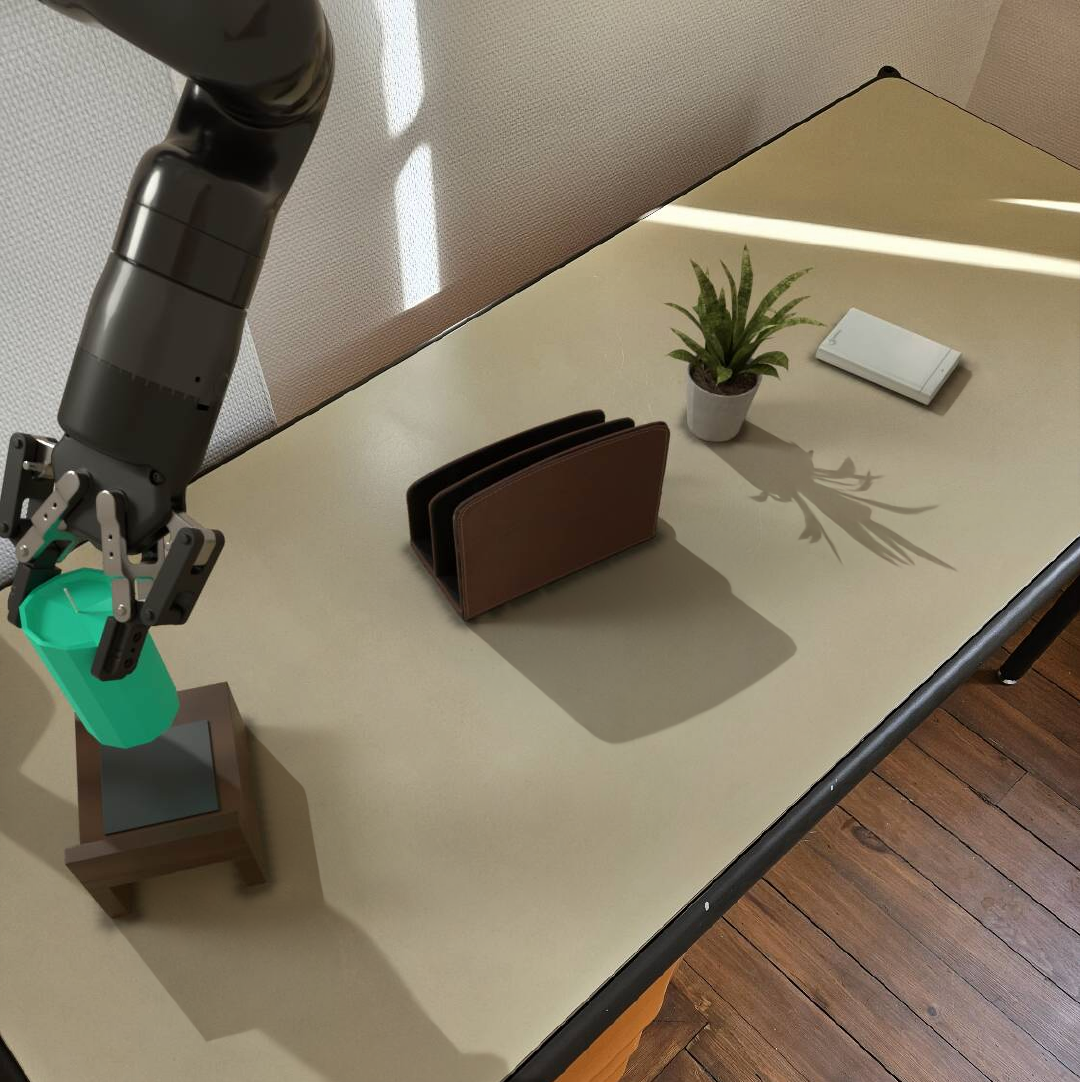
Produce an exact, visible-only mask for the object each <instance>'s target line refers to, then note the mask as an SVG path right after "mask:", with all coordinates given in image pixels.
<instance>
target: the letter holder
mask: <svg viewBox="0 0 1080 1082" xmlns="http://www.w3.org/2000/svg"><path fill="white" fill-rule="evenodd" d="M670 440H671V429H670V427H669V426H668V423H667V422H665V421H664V420H656V421H651V422H648V423H644V424H640V425H636V422H635V420H634V419H633V418H632V417H629V416H626V417H620V418H616V419H611V420H608V421H606V414H605V411H604V410H602V409H598V408H597V409H596V408H595V409H590V410H583V411H580V412H577V413H573V414H570V415H566V416H563V417H560V418H558V419H554V420H550V421H549V422H545V423H542V424H540V425H536V426H533V427H531V428H528V429H525V430H523V431H520V432H518V433H515V434H513V435H510V436H508V437H505V438H502V439H500V440H497V441H494V442H493V443H490V444H488V445H485V446H483V447H480V448H478V449H476V450H473V451H471V452H469V453H467V454H464V455H462V456H460V457H458V458H456V459H454V460H451V461H449V462H446V463H445V464H443V465H440V467H437V468H435V469H434V470H431V471H429V472H428V473H426V474H425V475H423V476H421V477H420V478H418V479H416V480H415V481H414V482H412V483H411V484H410V485H409V487H408V488H407V490H406V492H405V498H406V499H405V500H406V508H407V509H406V510H407V517H408V518H407V519H408V527H409V536H410V537H409V538H410V539H409V545H410V547H411V549H412V550H413V551H414V553H415V554H416V556H417V557H418V559H419V560H420V561H421V563H422V564H423V565H424V567H425V568H426V570H427V572H428V573H429V574H430V576H431V577H432V579H433V580H434V581H435V583H436V585H438V587H439V588H440V590H441V591H442V593H443V594H444V595H445V597H446V598H447V600H448V602H449V603H450V604H451V606H452V608H454V610H455V611H456V613H457V614H458V616H459V617H460V618H461V619H462V620H463V621H468V620H471V619H473V618H475V617H477V616H479V615H481V614H483V613H485V612H487V611H489V610H492V609H494V608H496V607H499V606H501V605H503V604H505V603H507V602H510V601H512V600H515V599H516V598H518V597H521V596H523V595H525V594H527V593H530V592H532V591H534V590H537V589H539V588H541V587H543V586H546V585H548V584H551V583H553V582H555V581H557V580H560V579H562V578H565V577H567V576H569V575H571V574H574V573H576V572H578V571H580V570H582V569H584V568H588V567H589V566H592V565H593V564H595V563H597V562H598V563H599V562H600V561H603V560H604V559H607V558H609V557H611V556H614V555H616V554H618V553H621V552H623V551H625V550H626V549H630V548H631V547H633V546H636V545H638V544H641V543H643V542H645V541H647V540H650V539H653V538H654V537H656V535H657V528H658V521H659V520H658V518H659V513H660V507H661V499H662V494H663V486H664V481H665V475H666V469H667V462H668V453H669V450H670V449H669V448H670V447H669V446H670Z"/></svg>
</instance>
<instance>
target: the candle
mask: <svg viewBox="0 0 1080 1082" xmlns="http://www.w3.org/2000/svg"><path fill="white" fill-rule="evenodd" d="M19 611H20V618H21V624H22V628H21V631H22V632H23V633H24V635H25V636H26V638H27V640H28V641H29V643H30V645H31V646H32V648H34V651H35V652H36V653H37V656H38V657H39V658H40V660H41V662H42V663H43V665H44V666H45V668H46V669H47V671H48V672H49V674H50V675H51V677H52V678H53V680H54V681H55V683H56V684H57V686H58V688H59V690H60V691H61V692H62V694H63V696H64V697H65V698H66V700H67V702H68V703H69V705H70V706H71V708H72V709H73V711H74V712H76V714H77V715H78V717H79V718H80V720H81V722H82V723H83V725H84V726H85V728H86V729H87V731H88V732H89V733H91V734H92V735H93V736H94V737H95V738H96V739H97V740H98V741H99V742H100V743H101V744H103V745H108V746H114V747H119V748H125V749H126V748H130V747H134V746H138V745H141V744H145V743H149V742H151V741H153V740H154V739H155V738H157V737H158V736H159V735H160V734H162V733H163V732H164V731H165V730H167V729H168V728H169V727H170V726H171V724H172V722H173V720H174V718H175V715H176V713H177V711H178V709H179V707H180V706H179V701H178V696H177V691H178V690H177V687H176V685H175V683H174V680H173V678H172V677H171V675H170V672H169V670H168V668H167V666H166V664H165V662H164V660H163V658H162V656H161V654H160V652H159V650H158V648H157V645H156V643H155V641H154V638H153V636H152V635H151V633H150V631H149V630H148V633H147V636H146V639H145V642H144V645H143V648H142V651H141V655H140V658H139V661H138V664H137V667H136V669H135V670H134V671H133V672H132V673H131V674H128V675H127V676H126V677H125V678H123V679H121V680H113V681H104V682H103V681H100V680H99V679H97V678H96V677H94V676H93V675H91V672H90V671H91V667H92V664H93V660H94V657H95V654H96V651H97V648H98V645H99V642H100V639H101V635H102V632H103V629H104V626H105V623H106V620H107V617H108V616H114V615H113V609H112V591H111V581H110V579H109V578H108V577H106V575H105V574H104V570H103V569H99V568H92V567H86V566H83V567H80V568H77V569H74V570H70V571H66V572H63V573H61V574H60V575H57V576H55V577H53V578H52V579H50V580H48V581H46V582H45V583H43V584H41V585H39V586H38V587H36V588H35V589H33V590H32V591H31V592H30V594H29V595H28V596H27V598H26V599H25V600H24V601H23V603H22V604H21V605H20V607H19Z"/></svg>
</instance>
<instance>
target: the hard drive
mask: <svg viewBox="0 0 1080 1082" xmlns="http://www.w3.org/2000/svg"><path fill="white" fill-rule="evenodd" d="M815 353H816V354H815V357H814V358H816V359H819V360H821V361H823V362H825V363H827V364H830V365H833V366H835V367H837V368H839V369H841V370H844V371H846V372H848V373H851V374H853V375H855V376H858V377H860V378H863V379H865V380H868V381H870V382H872V383H874V384H877V385H879V386H882V387H884V388H887V389H888V390H890V391H893V392H895V393H898V394H900V395H902V396H904V397H908V398H909V399H912V400H914V401H916V402H919V403H921V404H924V405H926V406H928V405H929V404H930V403H931V401H932V400H933V399H934V397H936V395H937V393H938V392H939V391H940V390H941V388H942V386H943V385H944V384H945V382H946V381H947V380H948V378H949V377H950V375H951V374H952V373H953V371H955V369H956V368H957V366H958V364H959V363H960V361H961V359H962V356H963V352H961V351H959V350H956V349H954V348H951V347H949V346H948V345H944V344H942V343H939V342H938V341H934V340H933V339H930V338H928V337H925V336H923V335H921V334H918V333H916V332H913V331H911V330H909V329H906V328H904V327H901V326H899V325H897V324H895V323H892V322H889V321H886V320H884V319H882V318H880V317H877V316H875V315H874V314H873V315H872V314H870V313H869V312H866V311H863V310H861V309H858V308H855V307H851V308H850V309H849V310H848V311H847V313H846V314H845V315H844V316H843V318H842V319H840V321H838V323H837V325H836V326H835V327H834V328H833V329H832V330H831V332H829V334H828V335H827V336H826V337H825V339H824V340H823V341H822V342H821V344H820V345H819V346H818V348H817V351H816V352H815Z"/></svg>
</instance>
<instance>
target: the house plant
mask: <svg viewBox="0 0 1080 1082" xmlns="http://www.w3.org/2000/svg"><path fill="white" fill-rule="evenodd" d="M741 259H742V260H741V272H740V282H739V288H738V290H737V285H736V282H735V279H734V278H733V276H732V274H731V271H729V268H728V267H727V265H726V264H725V263H724V262H723V261H722V260H721V259H719V262H720V263H721V266H722V268H723V270H724V273H725V275H726V278H727V280H728V283H729V286H730V295H731V296H730V297H731V298H730V299H731V313H730V311H729V310H728V308H727V301H726V292H725V289H724V286H722V287H721V290H720V292H719V296H718V295H717V292H716V289H715V286H714V284H713V283H712V281H711V280H710V272H709V268H708V267H706V271H705V272H704V271H703V269H702V267H701V266H700V265H699V264H698V263H696V262H695V261H694V260H693V259H691V257H690V259H689V260H690V263H691V265H692V268H693V271H694V273H695V276H696V279H697V282H698V285H699V289H700V290H699V294H698V297H697V305H693V306H691V307H692V310H693V311H694V312H695V313H696V314H697V316H698V320H699V321H698V320H697V318H696V317H695V316H694V315H693V314H692V313H691V312H690V311H688V309H686V308H684V307H682V306H680V305H678V304H676V303H673V302H663V304H664V305H666V306H669V307H671V308H674V309H676V310H677V311H679V312H681V313H682V314H683V315H685V316H686V317H687V318H689V319H690V321H692V322H693V324H694V325H695V326H696V327H697V328H698V329H699V330H700V332H701V333H702V336H703V339H704V347H703V346H702V345H701V344H699V343H698V342H697V341H695V340H694V339H693V338H691V337H690V336H689V335H687V334H686V333H684V332H682V331H681V330H678V329H675V328H673V327H670V326H669V327H667V328H669V329H670V330H671V331H672V333H674V334H675V335H676V336H678V337H679V338H680V339H681V341H682V342H683V343H684V344H685V346H686V347H687V348H689V350H691V351H692V352H694V353H695V354H693V353H692V352H690V351H689V350H686V349H683V348H681V349H679V348H678V349H675V350H673V351H671V352H669V353H667V354H665V357H667V356H668V357H670V358H674V359H675V360H679V361H682V362H686V363H687V364H686V366H685V367H686V370H685V374H686V375H685V376H686V377H685V378H686V379H685V380H686V417H687V418H686V420H687V422H686V423H687V427H688V429H689V431H690V432H691V433H692V434H693V435H694V436H695V437H697V438H698V439H701V440H702V441H707V442H715V443H716V442H717V443H719V442H726V441H731V440H732V439H733V438H735V437H736V436H737V434H739V432H740V430H741V426H742V425H743V423H744V421H745V419H746V416H747V414H748V412H749V410H750V407H751V405H752V403H753V401H754V398H755V397H756V394H757V391H758V390H759V387H760V385H761V382H762V380H763V376H771V377H774V378H777V379H778V380H780V382H781V381H782V380H781V378H780V375H779V373H778V369H777V368H776V367H774V366H778V367H783V368H784V369H785V370H787V371H786V372H789V357H788V356H787V354H786V353H785V352H784V351H780V350H773V351H767V352H764V353H762V354H760V355H758V356H757V357H755V358H753V356H754V355H755V353H756V351H757V350H758V348H759V347H760V345H761V344H762V343H763V342H764V341H766V340H770V339H774V338H775V336H773V337H770V336H771V335H773V334H775V333H776V332H778V331H781V330H783V329H784V328H789V327H793V326H798V325H807V324H808V325H813V326H817V327H827V328H829V326H828V325H827V324H824V323H823V322H821V321H818V320H816V319H812V318H809V317H794V316H795V315H796V314H797V312H792V313H788V312H790V311H791V310H792V309H793V308H794V307H796V306H797V305H798V304H799V303H801V302H803V301H805V300H808V299H809V298H810V297H811V295H807V296H806V295H805V296H801V297H798V298H797V297H796V298H794V299H793V300H791V301H789V302H787V303H786V304H785V305H784V306H782V308H780V309H779V310H778V311H776V310H775V308H774V307H772V306H773V304H774V303H775V302H777V300H778V299H779V298H780V297H781V296H782V295H783V294H784V293H785V292H786V291H787V290H789V288H791V287H792V285H793V284H795V282H796V281H797V280H798V279H800V278H801V277H803V276H804V275H806V274H809V272H811V271H812V270H813V269H814V267H810V268H805V269H802V270H799V271H797V272H794V273H792V274H790V275H788V276H786V277H785V278H783V279H782V280H781V281H780V282H778V283H777V284H776V285H775V286H774V287H773V288H772V289H770V290H769V292H767V294H766V295H765V296H764V297H763V298H762V299H761V300H760V302H759V303H758V304H759V305H758V306H757V308H756V310H755V311H754V313H753V315H752V316H751V318H750V319H749V321H748V323H747V317H748V316H747V315H748V310H749V307H750V302H751V296H752V290H753V281H754V270H753V266H752V262H751V256H750V250H749V248H748V246H747V243H744V246H743V250H742V257H741ZM767 311H769V312H771V313H774V315H773V316H772V317H770V316H768V315H765V314H766V313H767ZM792 317H793V318H792ZM755 337H756V338H755ZM754 338H755V339H754ZM753 339H754V341H752V340H753Z"/></svg>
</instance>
